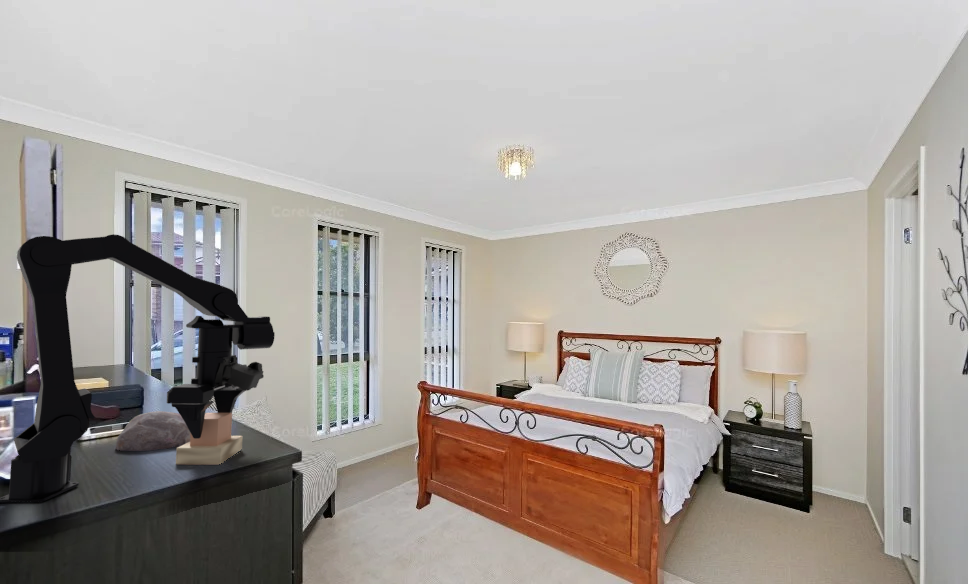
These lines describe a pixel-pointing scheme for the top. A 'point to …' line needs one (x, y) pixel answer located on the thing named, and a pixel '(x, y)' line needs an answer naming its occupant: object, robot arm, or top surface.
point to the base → (208, 452)
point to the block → (214, 430)
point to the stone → (153, 432)
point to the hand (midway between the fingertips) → (211, 431)
